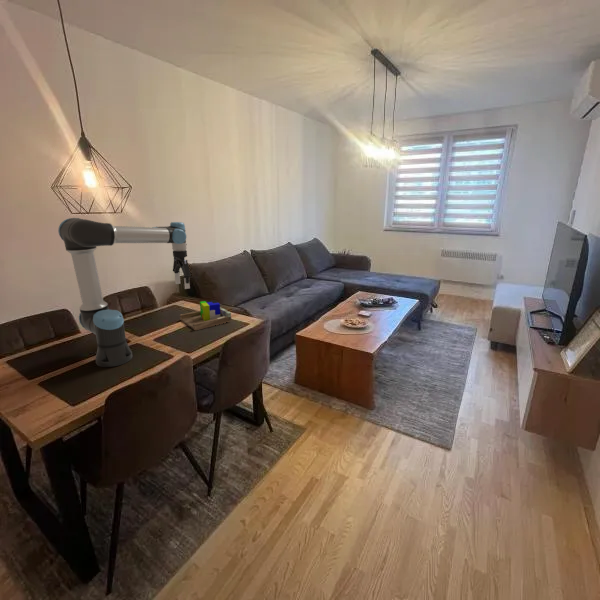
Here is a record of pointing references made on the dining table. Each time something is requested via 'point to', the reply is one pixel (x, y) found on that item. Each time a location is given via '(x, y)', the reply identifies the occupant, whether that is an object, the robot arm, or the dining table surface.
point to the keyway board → (198, 323)
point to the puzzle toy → (210, 310)
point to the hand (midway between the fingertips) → (182, 286)
